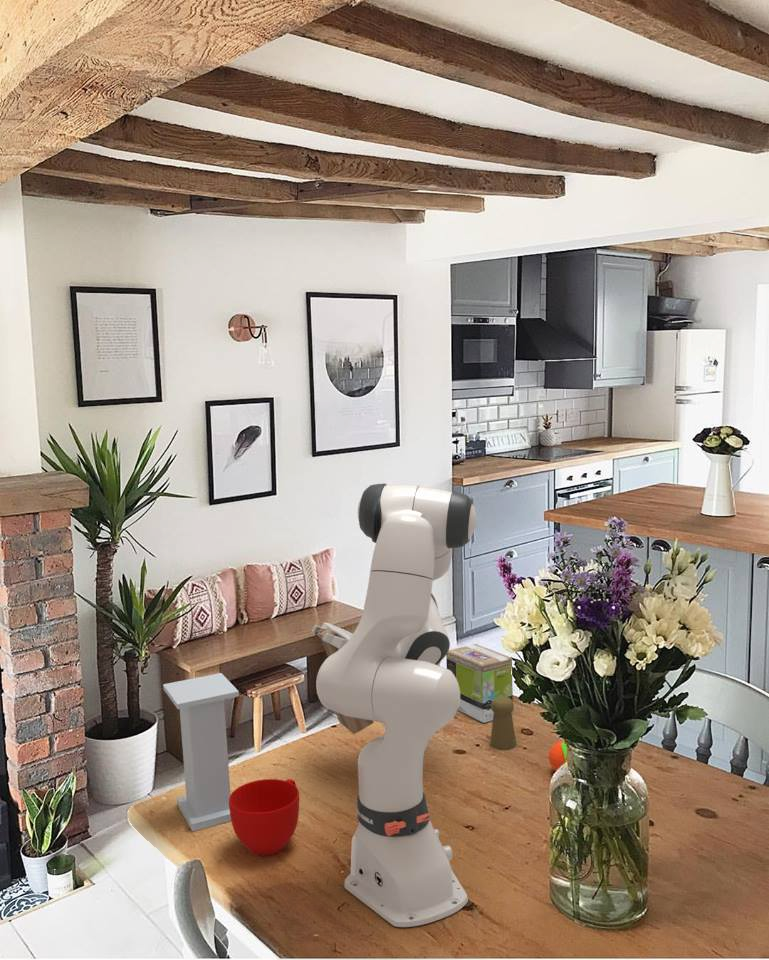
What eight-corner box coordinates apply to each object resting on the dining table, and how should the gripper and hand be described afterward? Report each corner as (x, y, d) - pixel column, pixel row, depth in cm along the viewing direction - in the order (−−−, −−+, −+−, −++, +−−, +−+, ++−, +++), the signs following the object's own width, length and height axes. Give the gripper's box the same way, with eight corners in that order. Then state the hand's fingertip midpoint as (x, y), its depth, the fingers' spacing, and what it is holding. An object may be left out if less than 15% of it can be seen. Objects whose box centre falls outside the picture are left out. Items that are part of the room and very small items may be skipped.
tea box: (514, 714, 222) (513, 657, 220) (482, 724, 216) (481, 666, 214) (477, 696, 234) (475, 641, 232) (446, 705, 229) (444, 649, 227)
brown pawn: (487, 748, 203) (486, 702, 202) (492, 737, 209) (491, 692, 207) (514, 751, 201) (513, 704, 200) (518, 739, 207) (517, 694, 206)
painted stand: (247, 816, 177) (238, 691, 174) (187, 832, 172) (177, 704, 169) (229, 791, 188) (221, 672, 184) (172, 806, 183) (163, 684, 179)
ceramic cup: (324, 824, 173) (321, 776, 172) (278, 871, 158) (275, 818, 157) (267, 812, 179) (264, 765, 177) (217, 857, 163) (214, 805, 162)
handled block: (340, 635, 185) (319, 647, 183) (373, 722, 190) (353, 734, 189) (325, 625, 192) (305, 636, 190) (358, 709, 198) (338, 721, 196)
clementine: (583, 784, 185) (582, 751, 184) (549, 782, 186) (548, 750, 185) (581, 766, 193) (581, 735, 192) (548, 765, 194) (548, 733, 193)
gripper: (358, 628, 203) (307, 607, 196) (399, 653, 184) (344, 631, 178) (346, 653, 202) (295, 633, 196) (386, 682, 184) (331, 660, 178)
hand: (319, 632), depth 187 cm, fingers closed on handled block, 4 cm apart
